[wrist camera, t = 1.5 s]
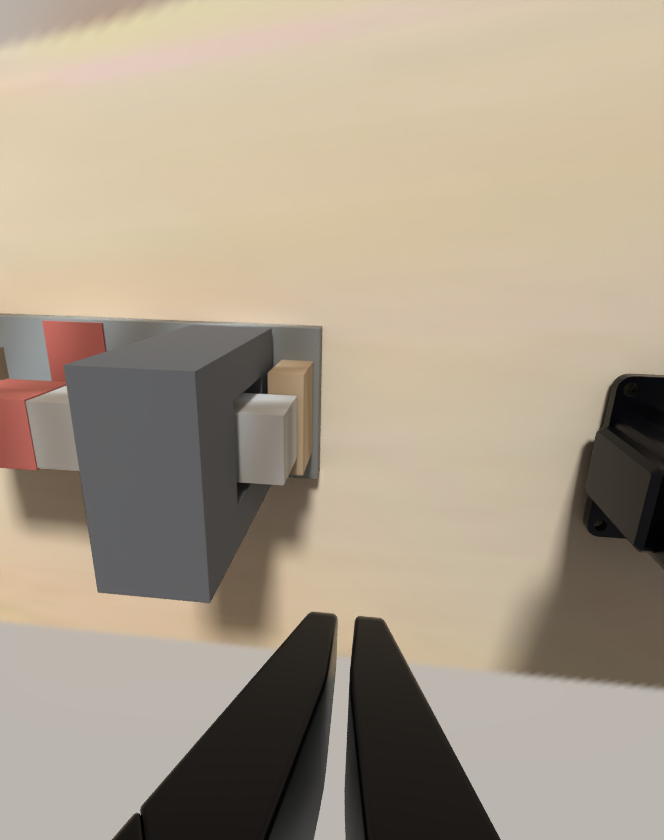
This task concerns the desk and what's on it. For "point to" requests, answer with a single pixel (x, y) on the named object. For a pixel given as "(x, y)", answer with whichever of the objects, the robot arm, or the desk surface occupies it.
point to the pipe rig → (87, 336)
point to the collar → (166, 457)
